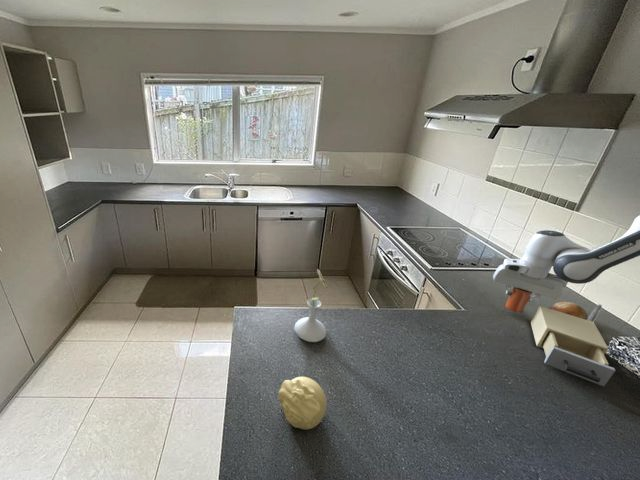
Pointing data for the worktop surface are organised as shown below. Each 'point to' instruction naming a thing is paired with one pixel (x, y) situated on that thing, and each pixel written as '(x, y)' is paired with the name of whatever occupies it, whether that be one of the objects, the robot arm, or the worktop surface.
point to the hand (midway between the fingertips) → (518, 297)
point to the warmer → (565, 328)
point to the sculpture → (302, 402)
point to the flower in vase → (312, 319)
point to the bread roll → (570, 309)
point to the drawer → (577, 358)
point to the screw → (594, 313)
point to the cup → (518, 300)
